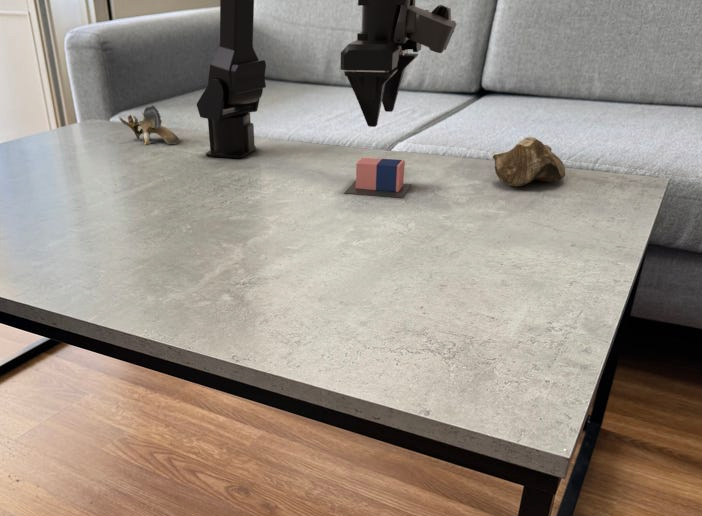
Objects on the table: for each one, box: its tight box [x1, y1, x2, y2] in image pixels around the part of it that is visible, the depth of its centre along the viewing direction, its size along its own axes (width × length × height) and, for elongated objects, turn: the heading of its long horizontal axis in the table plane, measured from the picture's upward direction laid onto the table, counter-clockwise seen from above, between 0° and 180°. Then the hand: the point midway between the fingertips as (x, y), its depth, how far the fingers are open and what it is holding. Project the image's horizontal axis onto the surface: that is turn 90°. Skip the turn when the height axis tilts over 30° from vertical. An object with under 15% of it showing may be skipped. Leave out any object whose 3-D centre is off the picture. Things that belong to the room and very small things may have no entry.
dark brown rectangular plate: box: [343, 179, 412, 199], centre depth 96 cm, size 8×6×1 cm
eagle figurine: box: [118, 105, 180, 146], centre depth 123 cm, size 8×7×9 cm
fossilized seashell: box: [492, 136, 566, 187], centre depth 95 cm, size 8×7×10 cm
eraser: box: [355, 157, 406, 192], centre depth 96 cm, size 6×3×4 cm, turn 69°
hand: (381, 118), depth 92 cm, fingers open, 9 cm apart
